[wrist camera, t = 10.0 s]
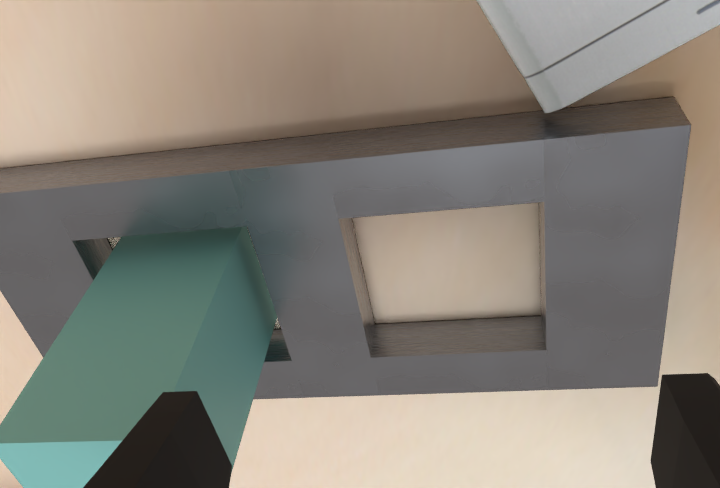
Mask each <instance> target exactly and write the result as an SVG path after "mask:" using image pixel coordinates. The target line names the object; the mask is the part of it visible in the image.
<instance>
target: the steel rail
mask: <svg viewBox="0 0 720 488" xmlns="http://www.w3.org/2000/svg"><path fill="white" fill-rule="evenodd" d="M690 129H691V124H690V122H689V121H688V119H687V117H686V116H685V114H684V112H683V111H682V109H681V107H680V106H679V104H678V102H677V101H676V99H675V97H667V98H658V99H648V100H639V101H630V102H620V103H611V104H602V105H592V106H583V107H574V108H564V109H560V110H556V111H553V112H550V113H544V111H536V112H527V113H517V114H508V115H499V116H489V117H480V118H471V119H461V120H452V121H443V122H433V123H424V124H415V125H405V126H396V127H387V128H377V129H368V130H358V131H349V132H340V133H330V134H321V135H312V136H302V137H293V138H284V139H274V140H265V141H256V142H246V143H237V144H227V145H218V146H209V147H199V148H190V149H181V150H171V151H162V152H153V153H143V154H134V155H125V156H115V157H106V158H97V159H87V160H78V161H68V162H59V163H50V164H40V165H31V166H22V167H12V168H3V169H0V291H1V292H2V294H3V295H4V297H5V298H6V300H7V302H8V303H9V305H10V306H11V308H12V309H13V311H14V312H15V314H16V316H17V317H18V319H19V320H20V322H21V323H22V325H23V326H24V328H25V330H26V331H27V333H28V334H29V336H30V337H31V339H32V341H33V342H34V344H35V345H36V347H37V348H38V350H39V351H40V353H41V355H42V356H43V358H44V356H45V355H46V353H47V352H48V350H49V349H50V347H51V345H52V344H53V342H54V341H55V339H56V338H57V336H58V335H59V333H60V332H61V330H62V328H63V327H64V325H65V324H66V322H67V321H68V319H69V318H70V316H71V314H72V313H73V311H74V310H75V308H76V307H77V305H78V304H79V302H80V300H81V299H82V297H83V296H84V294H85V293H86V291H87V290H88V288H89V287H90V285H91V283H92V282H93V280H94V279H95V277H96V276H97V274H98V273H99V271H100V269H101V268H102V266H103V265H104V263H105V262H106V260H107V259H108V257H109V255H110V254H111V252H112V251H113V250H112V248H111V246H110V244H109V242H108V240H107V238H111V237H124V236H136V235H148V234H160V233H172V232H184V231H197V230H209V229H221V228H233V227H245V226H247V228H248V231H249V234H250V237H251V240H252V243H253V246H254V249H255V252H256V255H257V258H258V261H259V264H260V267H261V270H262V273H263V276H264V279H265V282H266V285H267V288H268V291H269V294H270V297H271V300H272V303H273V306H274V309H275V312H276V315H277V318H278V321H279V324H280V327H281V329H278V330H273V333H272V336H271V340H270V343H269V346H268V350H267V353H266V357H265V360H264V363H263V367H262V370H261V374H260V377H259V380H258V384H257V387H256V391H255V394H254V397H253V399H275V398H307V397H338V396H370V395H402V394H434V393H466V392H497V391H529V390H561V389H593V388H625V387H656V386H658V378H659V370H660V363H661V355H662V347H663V339H664V331H665V324H666V316H667V308H668V300H669V293H670V285H671V277H672V269H673V261H674V254H675V246H676V238H677V230H678V223H679V215H680V207H681V199H682V191H683V184H684V176H685V168H686V160H687V153H688V145H689V137H690ZM537 202H539V230H540V280H541V316H531V317H511V318H492V319H473V320H453V321H434V322H414V323H395V324H376V325H375V323H374V318H373V313H372V309H371V304H370V300H369V295H368V291H367V286H366V281H365V277H364V272H363V268H362V263H361V259H360V254H359V250H358V245H357V240H356V236H355V231H354V227H353V222H352V218H355V217H367V216H379V215H391V214H403V213H415V212H427V211H440V210H452V209H464V208H476V207H488V206H500V205H513V204H525V203H537Z"/></svg>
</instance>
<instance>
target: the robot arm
mask: <svg viewBox="0 0 720 488" xmlns="http://www.w3.org/2000/svg"><path fill="white" fill-rule="evenodd" d="M651 465H652V470H653V475H654V480H655V485H656V488H720V386H719V384H718V383H717V381H716V380H715V379H714V378H713V377H712V376H710V375H709V374H708V373H703V374H673V375H662V380H661V387H660V395H659V402H658V410H657V418H656V425H655V433H654V440H653V448H652V455H651ZM231 471H232V464H231V462H230V460H229V458H228V456H227V454H226V452H225V449H224V447H223V445H222V443H221V441H220V439H219V437H218V435H217V432H216V430H215V428H214V426H213V424H212V422H211V420H210V418H209V415H208V413H207V411H206V409H205V407H204V405H203V403H202V400H201V398H200V396H199V394H198V392H197V391H179V392H163V393H162V394H161V395H160V396H159V397H158V399H157V400H156V401H155V402H154V403H153V404H152V406H151V407H150V408H149V409H148V410H147V411H146V413H145V414H144V415H143V416H142V417H141V419H140V420H139V421H138V422H137V423H136V425H135V426H134V427H133V428H132V430H131V431H130V432H129V433H128V434H127V436H126V437H125V438H124V439H123V440H122V442H121V443H120V444H119V445H118V447H117V448H116V449H115V450H114V451H113V453H112V454H111V455H110V456H109V457H108V459H107V460H106V461H105V462H104V463H103V465H102V466H101V467H100V468H99V469H98V471H97V472H96V473H95V474H94V475H93V476H92V478H91V479H90V480H89V481H88V482H87V483H86V485H85V486H84V487H83V488H229V483H230V477H231Z"/></svg>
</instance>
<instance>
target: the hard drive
mask: <svg viewBox="0 0 720 488" xmlns="http://www.w3.org/2000/svg"><path fill="white" fill-rule="evenodd" d="M476 1H477V2H478V4H479V6H480V7H481V9H482V11H483V12H484V14H485V16H486V17H487V19H488V21H489V22H490V24H491V25H492V27H493V29H494V30H495V32H496V33H497V35H498V37H499V39H500V40H501V42H502V44H503V45H504V47H505V49H506V51H507V52H508V54H509V55H510V57H511V58H512V60H513V62H514V63H515V65H516V67H517V68H518V70H519V71H520V73H521V74H522V76H523V77H524V78H525V80H526V82H527V84H528V86H529V88H530V89H531V91H532V92H533V94H534V96H535V97H536V99H537V101H538V102H539V104H540V105H541V107H542V109H543V111H544V113H550V112H553V111H556V110H560V109H562V108H564V107H566V106H568V105H570V104H573V103H575V102H576V101H578V100H580V99H582V98H584V97H585V96H587V95H589V94H591V93H593V92H595V91H597V90H599V89H601V88H603V87H604V86H606V85H608V84H610V83H612V82H614V81H615V80H617V79H619V78H621V77H623V76H625V75H627V74H629V73H631V72H632V71H634V70H636V69H638V68H640V67H642V66H644V65H646V64H647V63H649V62H651V61H653V60H655V59H657V58H659V57H661V56H662V55H664V54H666V53H668V52H670V51H672V50H673V49H675V48H677V47H679V46H681V45H683V44H685V43H687V42H688V41H690V40H692V39H694V38H696V37H698V36H700V35H701V34H703V33H705V32H707V31H709V30H711V29H713V28H715V27H717V26H719V25H720V0H476Z"/></svg>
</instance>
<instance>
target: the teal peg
mask: <svg viewBox="0 0 720 488" xmlns="http://www.w3.org/2000/svg"><path fill="white" fill-rule="evenodd" d="M276 319H277V315H276V312H275V309H274V306H273V303H272V300H271V297H270V294H269V291H268V288H267V285H266V282H265V279H264V276H263V273H262V270H261V267H260V264H259V261H258V259H257V256H256V253H255V250H254V247H253V244H252V241H251V238H250V235H249V232H248V229H247V226H245V227H233V228H221V229H209V230H197V231H184V232H172V233H160V234H148V235H136V236H124V237H121V238H120V240H119V242H118V243H117V245H116V246H115V248H114V249H113V251H112V252H111V254H110V255H109V257H108V259H107V260H106V262H105V263H104V265H103V266H102V268H101V269H100V271H99V273H98V274H97V276H96V277H95V279H94V280H93V282H92V283H91V285H90V287H89V288H88V290H87V291H86V293H85V294H84V296H83V297H82V299H81V300H80V302H79V304H78V305H77V307H76V308H75V310H74V311H73V313H72V314H71V316H70V318H69V319H68V321H67V322H66V324H65V325H64V327H63V328H62V330H61V332H60V333H59V335H58V336H57V338H56V339H55V341H54V342H53V344H52V345H51V347H50V349H49V350H48V352H47V353H46V355H45V356H44V358H43V359H42V361H41V363H40V364H39V366H38V367H37V369H36V370H35V372H34V373H33V375H32V377H31V378H30V380H29V381H28V383H27V384H26V386H25V387H24V389H23V390H22V392H21V394H20V395H19V397H18V398H17V400H16V401H15V403H14V404H13V406H12V408H11V409H10V411H9V412H8V414H7V415H6V417H5V418H4V420H3V421H2V423H1V425H0V459H1V460H2V462H3V463H4V464H5V465H6V467H7V468H8V469H9V470H10V472H11V473H12V474H13V475H14V477H15V478H16V479H17V480H18V482H19V483H20V484H21V485H22V486H23V488H83V487H84V486H85V485H86V483H87V482H88V481H89V480H90V479H91V478H92V476H93V475H94V474H95V473H96V472H97V471H98V469H99V468H100V467H101V466H102V465H103V463H104V462H105V461H106V460H107V459H108V457H109V456H110V455H111V454H112V453H113V451H114V450H115V449H116V448H117V447H118V445H119V444H120V443H121V442H122V440H123V439H124V438H125V437H126V436H127V434H128V433H129V432H130V431H131V430H132V428H133V427H134V426H135V425H136V423H137V422H138V421H139V420H140V419H141V417H142V416H143V415H144V414H145V413H146V411H147V410H148V409H149V408H150V407H151V406H152V404H153V403H154V402H155V401H156V400H157V399H158V397H159V396H160V395H161V394H162V393H163V392H179V391H197V392H198V394H199V396H200V398H201V400H202V403H203V405H204V407H205V409H206V411H207V413H208V415H209V418H210V420H211V422H212V424H213V426H214V428H215V430H216V432H217V435H218V437H219V439H220V441H221V443H222V445H223V447H224V449H225V452H226V454H227V456H228V458H229V460H230V462H231V464H232V469H233V465H234V462H235V459H236V455H237V452H238V448H239V445H240V442H241V438H242V435H243V431H244V428H245V425H246V421H247V418H248V414H249V411H250V408H251V404H252V401H253V397H254V394H255V391H256V387H257V384H258V380H259V377H260V374H261V370H262V367H263V363H264V360H265V357H266V353H267V350H268V346H269V343H270V340H271V336H272V333H273V329H274V326H275V323H276ZM231 472H232V471H231Z"/></svg>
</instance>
